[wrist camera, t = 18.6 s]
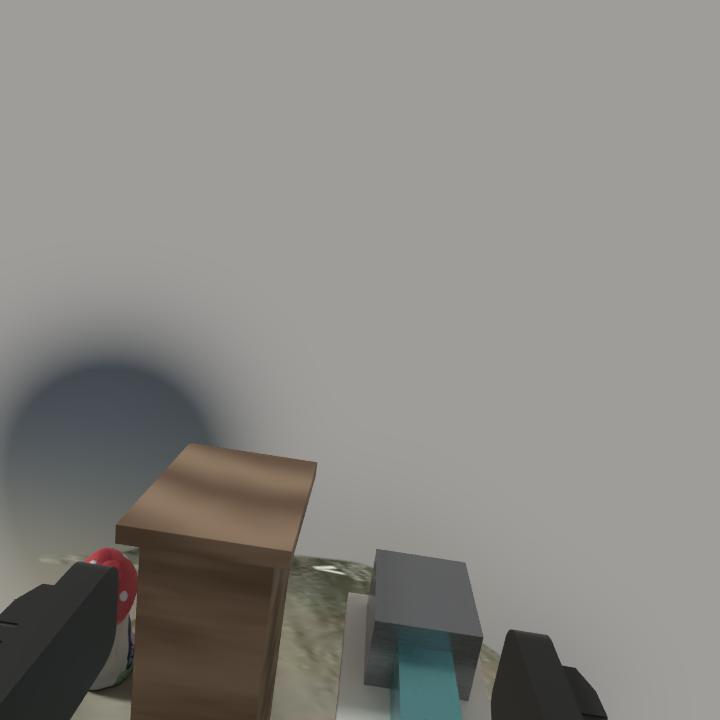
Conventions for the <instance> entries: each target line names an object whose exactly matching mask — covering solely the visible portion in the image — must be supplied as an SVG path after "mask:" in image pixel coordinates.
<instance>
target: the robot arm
mask: <svg viewBox="0 0 720 720" xmlns="http://www.w3.org/2000/svg"><path fill="white" fill-rule="evenodd" d="M118 580H119V574H118V569H117V568H116V567H112V566H106V565H99V564H93V563H87V562H77V563H75V564H74V565H73V566H72V567H71V568H70V569H69V570H68V571H67V572H66V573H65V574H64V575H63V576H62V578H61V579H60V580H59V581H58V582H57V583H56V584H55V585H54V586H53V585H48V584H42V585H40V586H38V587H36V588H35V589H33V590H31V591H29V592H28V593H26V594H24V595H23V596H20V597H19V598H17V599H15V600H14V601H13V602H12V603H11V604H10V605H9V606H8V607H7V608H6V609H5V610H4V611H3V612H2V613H1V614H0V720H70V719H71V717H72V716H73V714H74V713H75V711H76V709H77V708H78V706H79V705H80V703H81V702H82V700H83V699H84V697H85V695H86V694H87V692H88V691H89V689H90V688H91V686H92V684H93V683H94V681H95V680H96V678H97V677H98V675H99V674H100V672H101V670H102V669H103V667H104V666H105V664H106V662H107V660H108V658H109V656H110V653H111V650H112V647H113V644H114V640H115V636H116V626H117V603H118ZM491 720H607V715H606V713H605V710H604V708H603V706H602V704H601V702H600V699H599V697H598V695H597V693H596V691H595V690H594V689H593V688H592V687H591V685H590V684H589V683H588V682H587V681H586V680H585V679H584V677H583V676H582V675H581V674H580V673H579V672H578V671H577V669H576V668H573V667H567V666H562V665H561V663H560V660H559V658H558V655H557V653H556V650H555V648H554V646H553V643H552V641H551V639H550V638H549V636H548V635H543V634H537V633H530V632H524V631H518V630H509V631H508V633H507V635H506V638H505V642H504V646H503V650H502V654H501V658H500V662H499V666H498V670H497V674H496V679H495V683H494V687H493V691H492V698H491Z"/></svg>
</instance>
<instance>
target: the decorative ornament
mask: <svg viewBox="0 0 720 720" xmlns="http://www.w3.org/2000/svg"><path fill="white" fill-rule="evenodd" d="M85 562H87V563H93V564H99V565H106V566H112V567H116V568H117V569H118V574H119V580H118V603H117V626H116V636H115V640H114V644H113V647H112V650H111V653H110V656H109V658H108V660H107V662H106V664H105V666H104V667H103V669H102V670H101V672H100V674H99V675H98V677H97V678H96V680H95V681H94V683H93V684H92V686H91V688H90V689H89V690H98V689H102V688H106V687H110V686H114V685H117V684H119V683H120V682H121V681H122V680H123V679H125V678H126V677H127V675H128V674H129V673H130V672H131V670H132V668H133V663H134V644H135V635H134V633H133V632H132V631H131V620H130V615H129V611H130V609H131V606H132V605H133V602H134V599H135V596H136V593H137V588H138V576H137V573H136V570H135V567H134V566H133V564H132V563H131V561H130V560H129V559H128V557H127V556H126V555H124V554H123V553H121V552H120V551H118V550H115V549H113V548H104V549H101V550H98V551H96V552H95V553H93V554H92V555H91V556H89V557H88V558H87V559H86V560H85Z"/></svg>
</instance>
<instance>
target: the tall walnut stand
mask: <svg viewBox="0 0 720 720" xmlns="http://www.w3.org/2000/svg"><path fill="white" fill-rule="evenodd" d="M316 468H317V462H311V461H305V460H298V459H292V458H291V459H290V458H285V457H278V456H272V455H265V454H259V453H252V452H245V451H239V450H232V449H226V448H220V447H213V446H206V445H200V444H193V443H190V444H189V445H188V446H187V447H186V448H185V449H184V450H183V451H182V452H181V453H180V455H179V456H178V457H177V458H176V459H175V460H174V461H173V462H172V463H171V465H170V466H169V467H168V468H167V469H166V470H165V471H164V472H163V473H162V474H161V476H160V477H159V478H158V479H157V480H156V481H155V482H154V483H153V484H152V485H151V487H150V488H149V489H148V490H147V491H146V492H145V493H144V494H143V495H142V496H141V498H140V499H139V500H138V501H137V502H136V503H135V504H134V505H133V506H132V507H131V509H130V510H129V511H128V512H127V513H126V514H125V515H124V516H123V517H122V519H121V520H120V521H119V522H118V523H117V524H116V537H115V538H116V539H115V543H116V544H123V545H129V546H135V547H140V551H139V570H138V588H137V607H136V626H135V644H134V663H133V682H132V701H131V719H130V720H270V715H271V707H272V699H273V692H274V684H275V676H276V669H277V661H278V653H279V645H280V638H281V630H282V622H283V614H284V607H285V599H286V591H287V583H288V576H289V570H290V566H291V563H292V559H293V555H294V551H295V548H296V545H297V541H298V537H299V534H300V530H301V526H302V523H303V519H304V516H305V512H306V509H307V505H308V501H309V498H310V494H311V491H312V487H313V483H314V480H315V476H316Z"/></svg>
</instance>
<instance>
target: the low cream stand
mask: <svg viewBox="0 0 720 720" xmlns="http://www.w3.org/2000/svg"><path fill="white" fill-rule="evenodd" d="M368 596H369V595H363V594H356V593H350V592H349V594H348V600H347V607H346V617H345V627H344V637H343V647H342V657H341V667H340V677H339V687H338V697H337V707H336V717H335V720H390V689H388V688H382V687H376V686H369V685H364V664H365V642H366V620H367V602H368ZM460 706H461V712H462V718H463V720H491V707H490V702H489V698H488V693H487V689H486V684H485V680H484V675H483V671H482V666H481V662H480V657H479V658H478V663H477V667H476V671H475V675H474V680H473V684H472V688H471V692H470V697H469V701H466V700H460Z"/></svg>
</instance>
